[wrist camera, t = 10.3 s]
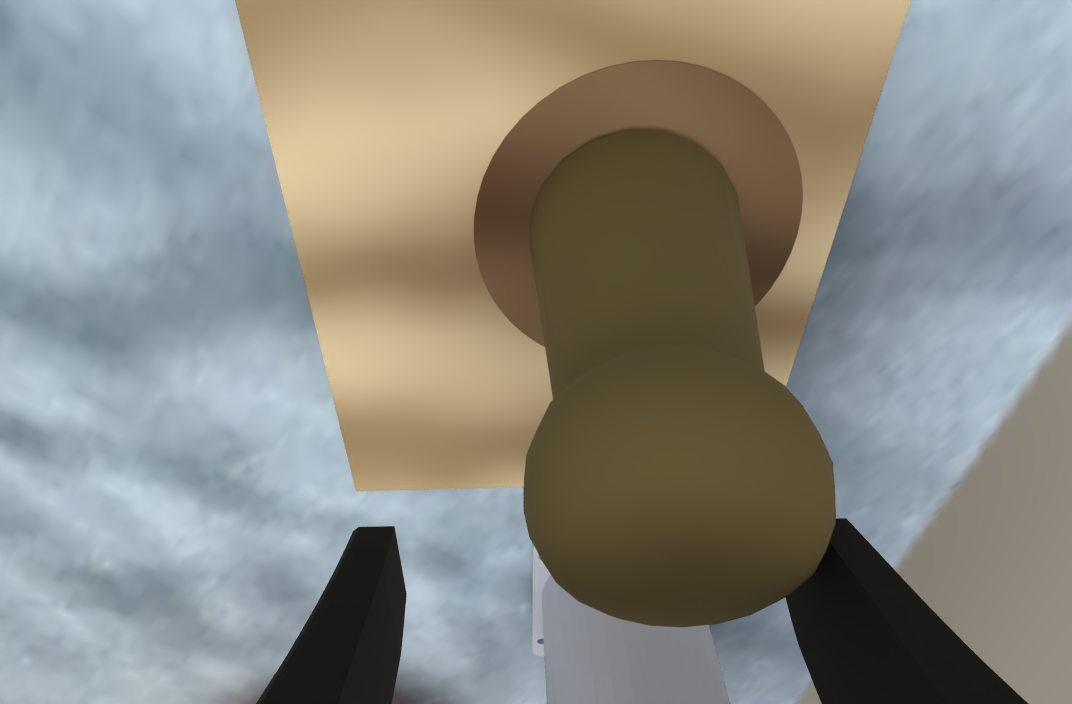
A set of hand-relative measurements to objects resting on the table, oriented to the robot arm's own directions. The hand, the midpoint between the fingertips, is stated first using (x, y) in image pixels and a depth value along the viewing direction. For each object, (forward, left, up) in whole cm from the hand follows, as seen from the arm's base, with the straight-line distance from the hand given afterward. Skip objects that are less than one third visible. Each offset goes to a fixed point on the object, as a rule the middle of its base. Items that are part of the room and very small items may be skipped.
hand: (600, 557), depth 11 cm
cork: (+2, -2, -10) cm, 10 cm away
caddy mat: (-1, 0, -10) cm, 10 cm away
